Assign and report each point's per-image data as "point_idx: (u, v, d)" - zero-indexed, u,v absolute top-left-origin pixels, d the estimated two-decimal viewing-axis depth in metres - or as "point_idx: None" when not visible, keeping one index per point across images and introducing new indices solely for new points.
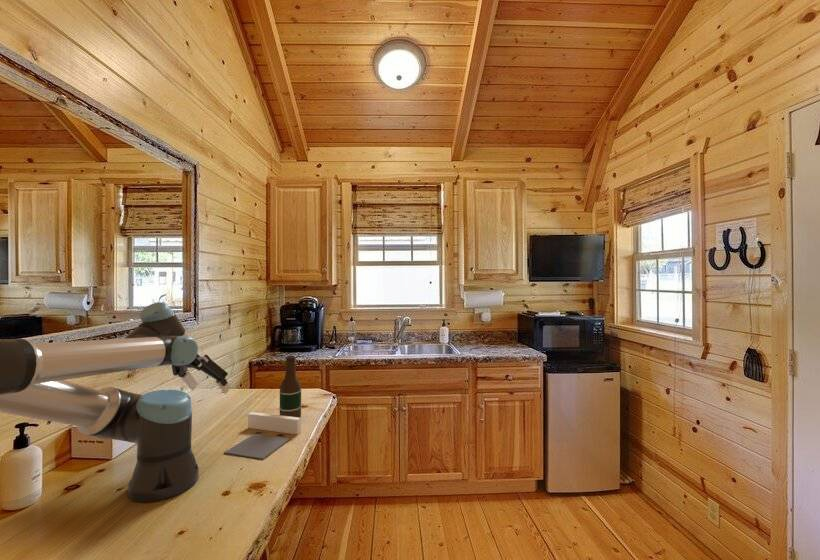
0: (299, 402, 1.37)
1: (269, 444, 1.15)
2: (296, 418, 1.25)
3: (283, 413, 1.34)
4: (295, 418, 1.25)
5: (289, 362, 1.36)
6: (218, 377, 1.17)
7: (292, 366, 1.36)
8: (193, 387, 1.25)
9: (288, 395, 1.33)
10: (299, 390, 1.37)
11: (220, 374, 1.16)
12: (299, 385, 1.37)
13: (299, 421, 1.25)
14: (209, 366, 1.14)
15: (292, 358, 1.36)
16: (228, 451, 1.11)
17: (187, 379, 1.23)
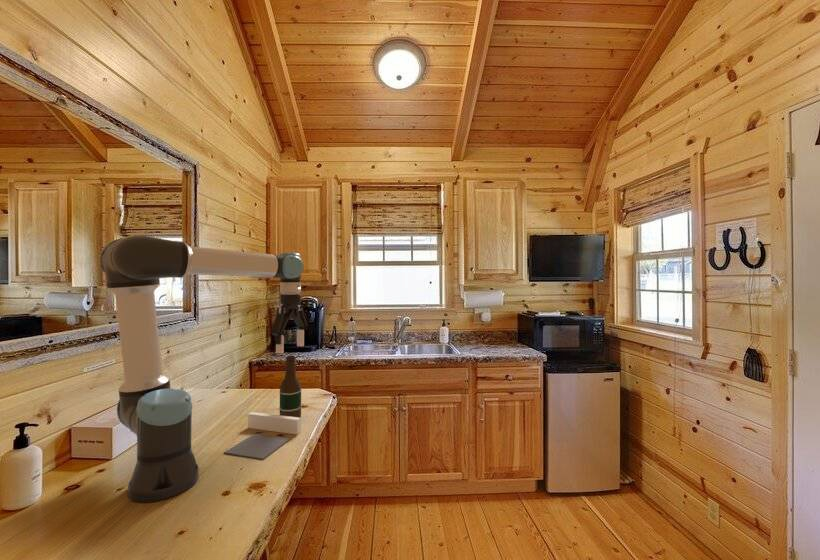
0: (299, 402, 1.37)
1: (269, 444, 1.15)
2: (296, 418, 1.25)
3: (283, 413, 1.34)
4: (295, 418, 1.25)
5: (289, 362, 1.36)
6: None
7: (292, 366, 1.36)
8: (298, 344, 1.43)
9: (288, 395, 1.33)
10: (299, 390, 1.37)
11: (273, 328, 1.28)
12: (299, 385, 1.37)
13: (299, 421, 1.25)
14: (276, 316, 1.30)
15: (292, 358, 1.36)
16: (228, 451, 1.11)
17: (298, 333, 1.43)
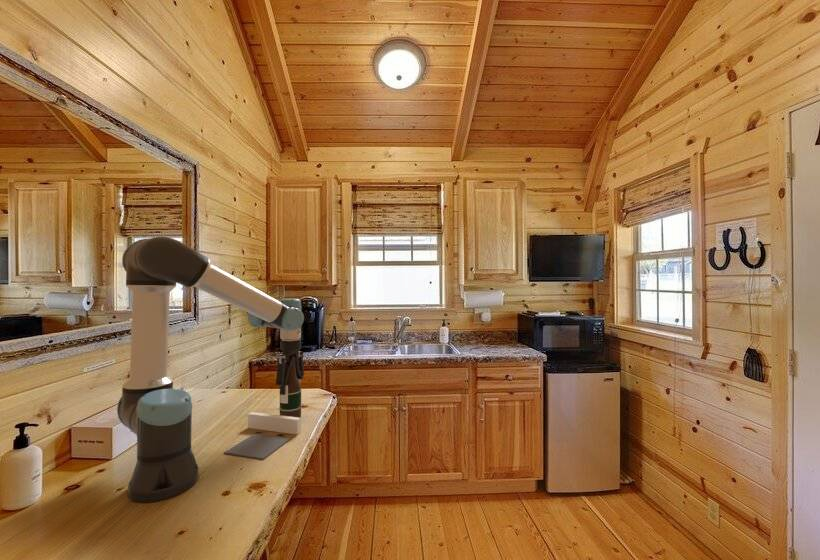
0: (299, 402, 1.37)
1: (269, 444, 1.15)
2: (296, 418, 1.25)
3: (283, 413, 1.34)
4: (295, 418, 1.25)
5: None
6: None
7: (292, 366, 1.36)
8: None
9: (288, 395, 1.33)
10: (299, 390, 1.37)
11: (277, 379, 1.30)
12: (299, 385, 1.37)
13: (299, 421, 1.25)
14: (278, 367, 1.31)
15: None
16: (228, 451, 1.11)
17: None
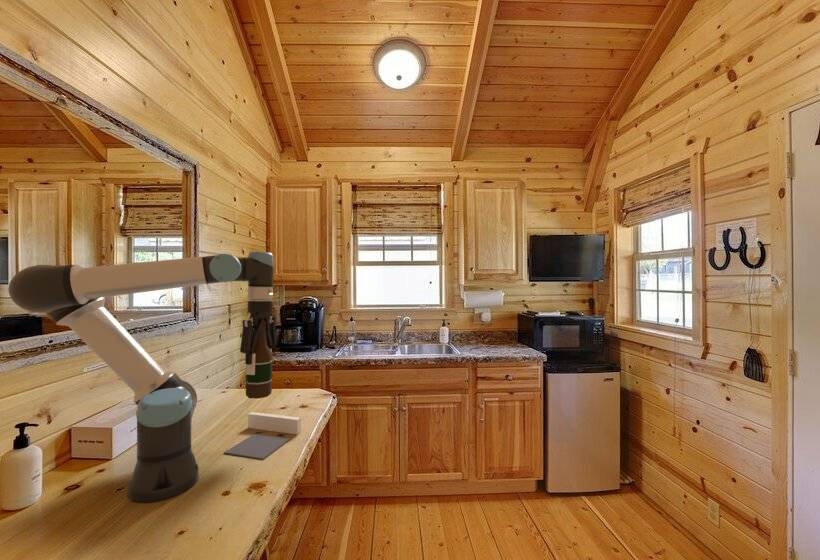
0: (269, 374, 1.15)
1: (269, 444, 1.15)
2: (296, 418, 1.25)
3: (249, 386, 1.12)
4: (295, 418, 1.25)
5: None
6: None
7: (261, 331, 1.15)
8: None
9: (256, 365, 1.12)
10: (269, 360, 1.15)
11: (242, 346, 1.09)
12: (270, 354, 1.16)
13: (299, 421, 1.25)
14: (243, 331, 1.09)
15: None
16: (228, 451, 1.11)
17: None
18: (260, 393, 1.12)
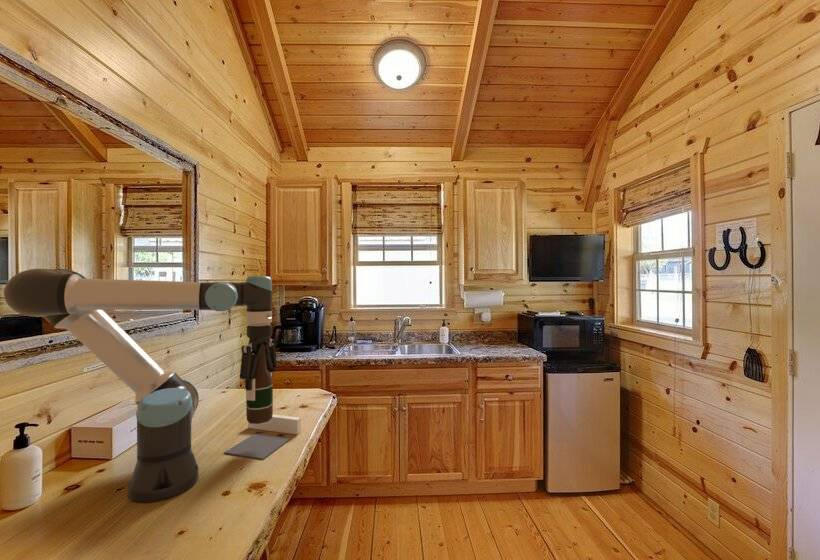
0: (270, 399, 1.15)
1: (269, 444, 1.15)
2: (296, 418, 1.25)
3: (250, 412, 1.12)
4: (295, 418, 1.25)
5: None
6: None
7: (261, 356, 1.14)
8: None
9: (256, 390, 1.11)
10: (270, 385, 1.15)
11: (241, 372, 1.08)
12: (270, 379, 1.15)
13: (299, 421, 1.25)
14: (242, 357, 1.09)
15: None
16: (228, 451, 1.11)
17: None
18: (260, 418, 1.12)
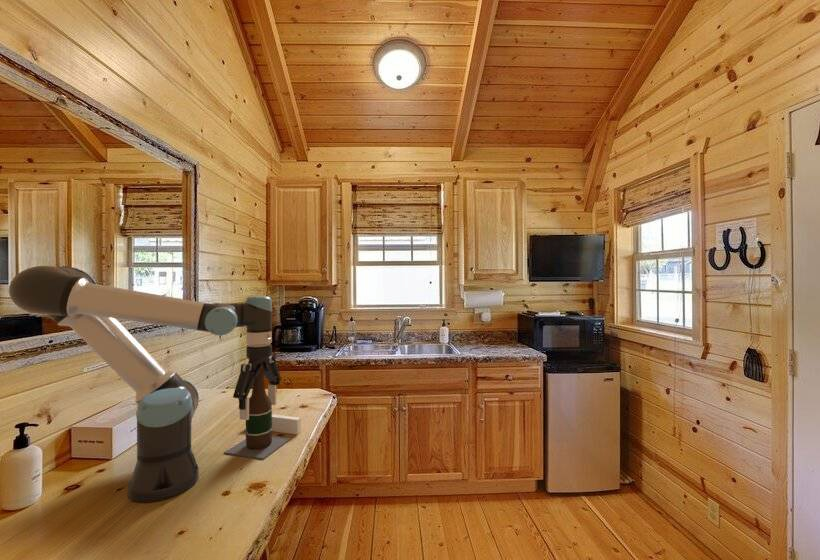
0: (269, 424, 1.15)
1: None
2: (296, 418, 1.25)
3: (249, 438, 1.12)
4: (295, 418, 1.25)
5: None
6: None
7: (260, 381, 1.14)
8: None
9: (255, 416, 1.12)
10: (269, 410, 1.15)
11: (236, 390, 1.06)
12: (269, 404, 1.15)
13: (299, 421, 1.25)
14: (240, 375, 1.08)
15: None
16: (228, 451, 1.11)
17: (269, 389, 1.21)
18: (260, 444, 1.12)
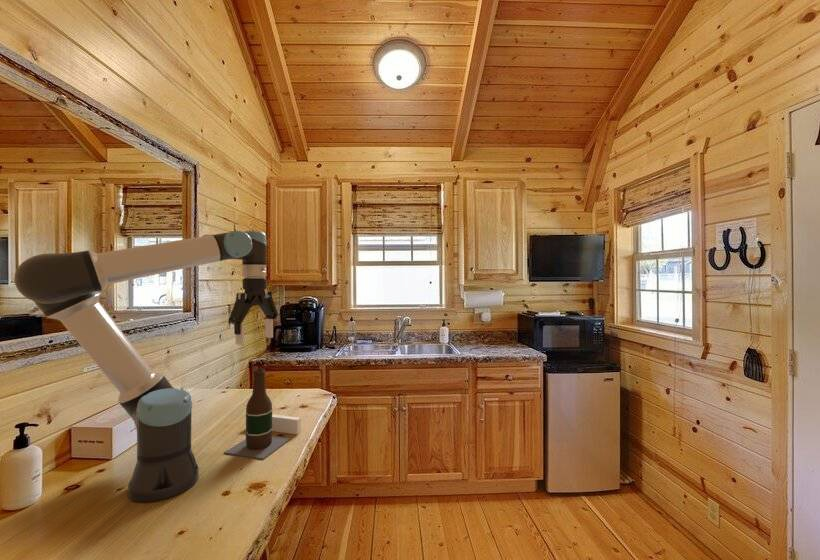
0: (269, 424, 1.15)
1: None
2: (296, 418, 1.25)
3: (249, 438, 1.12)
4: (295, 418, 1.25)
5: (257, 377, 1.14)
6: None
7: (261, 382, 1.14)
8: (266, 335, 1.28)
9: (255, 416, 1.11)
10: (269, 410, 1.15)
11: (231, 315, 1.12)
12: (269, 404, 1.15)
13: (299, 421, 1.25)
14: (235, 303, 1.14)
15: (261, 372, 1.14)
16: (228, 451, 1.11)
17: (266, 323, 1.28)
18: (260, 445, 1.12)
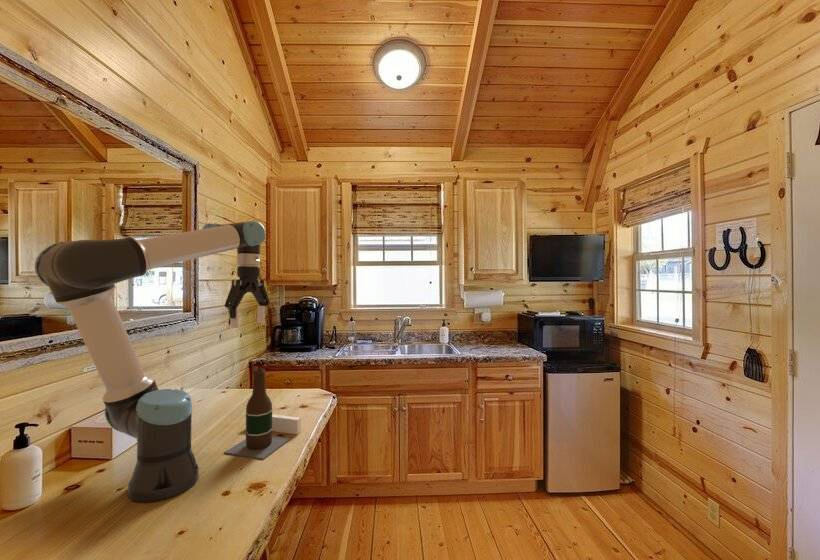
0: (269, 424, 1.15)
1: None
2: (296, 418, 1.25)
3: (249, 438, 1.12)
4: (295, 418, 1.25)
5: (257, 377, 1.14)
6: None
7: (261, 382, 1.14)
8: (258, 321, 1.35)
9: (255, 416, 1.11)
10: (269, 410, 1.15)
11: (227, 300, 1.20)
12: (269, 404, 1.15)
13: (299, 421, 1.25)
14: (231, 288, 1.22)
15: (261, 372, 1.14)
16: (228, 451, 1.11)
17: (258, 309, 1.35)
18: (260, 445, 1.12)
